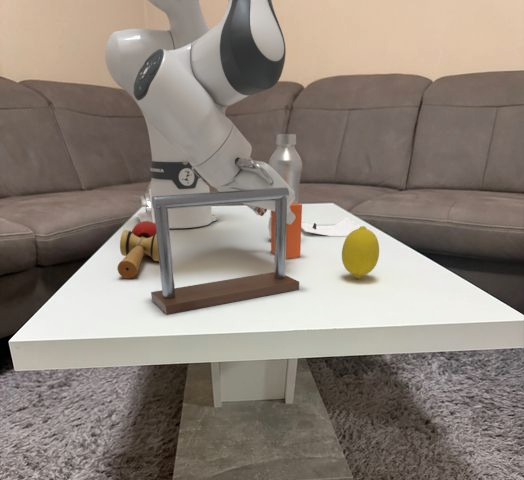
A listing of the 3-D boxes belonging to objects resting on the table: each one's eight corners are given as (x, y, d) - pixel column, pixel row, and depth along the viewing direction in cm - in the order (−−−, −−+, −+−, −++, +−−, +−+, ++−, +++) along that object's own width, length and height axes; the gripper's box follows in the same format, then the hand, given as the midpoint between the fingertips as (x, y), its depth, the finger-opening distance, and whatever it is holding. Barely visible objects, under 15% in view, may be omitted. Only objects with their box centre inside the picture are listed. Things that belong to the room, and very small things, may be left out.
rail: (151, 300, 62) (139, 193, 56) (277, 278, 71) (279, 184, 65) (166, 314, 57) (155, 199, 51) (299, 289, 66) (303, 189, 60)
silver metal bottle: (298, 245, 91) (302, 134, 82) (265, 243, 92) (265, 134, 84) (302, 238, 97) (306, 134, 88) (270, 236, 98) (271, 133, 89)
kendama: (159, 286, 71) (176, 244, 86) (146, 248, 68) (166, 211, 83) (112, 294, 72) (136, 251, 87) (97, 257, 68) (125, 219, 83)
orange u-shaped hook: (270, 252, 85) (271, 201, 81) (284, 250, 87) (285, 200, 83) (286, 259, 81) (287, 205, 77) (300, 257, 83) (302, 204, 79)
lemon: (354, 285, 68) (359, 231, 64) (333, 276, 72) (336, 224, 68) (383, 280, 70) (390, 227, 66) (360, 271, 74) (365, 221, 71)
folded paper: (296, 226, 109) (296, 217, 108) (345, 225, 110) (346, 216, 109) (305, 236, 98) (305, 227, 97) (360, 235, 99) (361, 226, 98)
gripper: (269, 143, 63) (322, 210, 72) (210, 140, 79) (259, 196, 88) (241, 179, 63) (298, 242, 72) (187, 169, 79) (239, 221, 88)
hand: (276, 216), depth 80 cm, fingers open, 8 cm apart
